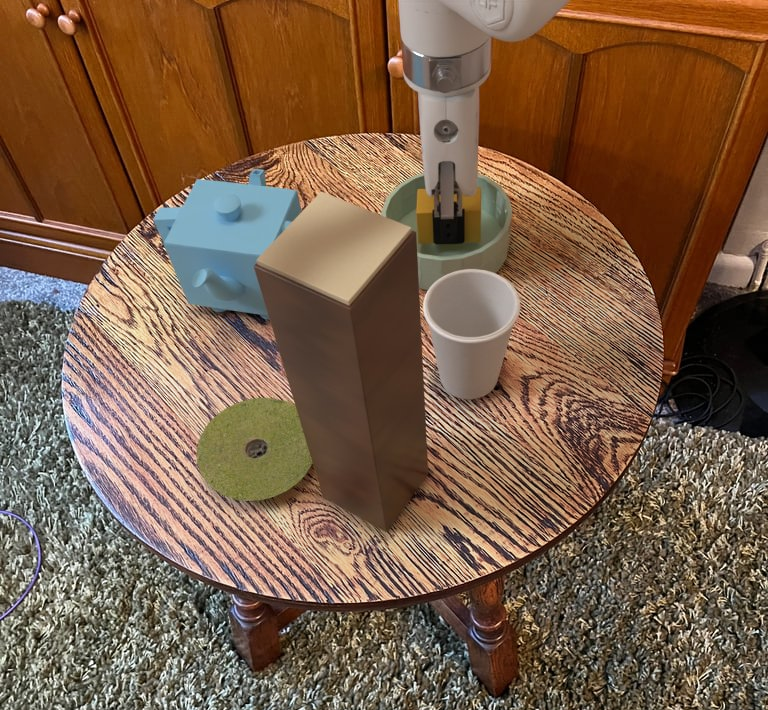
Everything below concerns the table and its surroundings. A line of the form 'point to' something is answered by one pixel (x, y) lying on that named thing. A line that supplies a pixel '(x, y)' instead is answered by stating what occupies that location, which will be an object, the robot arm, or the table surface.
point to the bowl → (456, 256)
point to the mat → (254, 450)
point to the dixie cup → (470, 329)
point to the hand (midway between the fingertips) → (449, 225)
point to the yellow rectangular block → (468, 203)
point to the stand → (352, 351)
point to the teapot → (225, 239)
